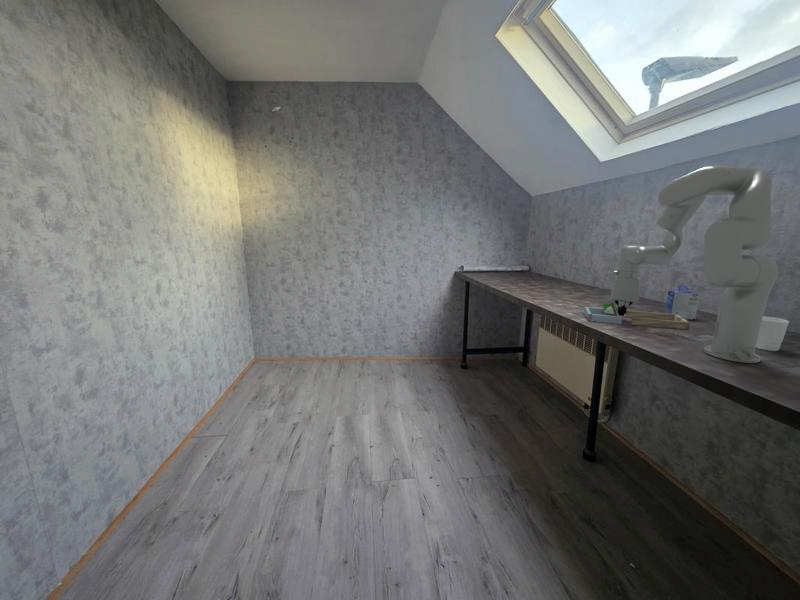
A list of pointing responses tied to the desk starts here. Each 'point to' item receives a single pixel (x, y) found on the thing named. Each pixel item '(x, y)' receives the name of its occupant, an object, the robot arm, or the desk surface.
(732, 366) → the desk surface
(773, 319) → the white cup
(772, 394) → the desk surface
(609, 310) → the geometric puzzle
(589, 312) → the bay
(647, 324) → the wooden tray
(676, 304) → the ink cartridge box
